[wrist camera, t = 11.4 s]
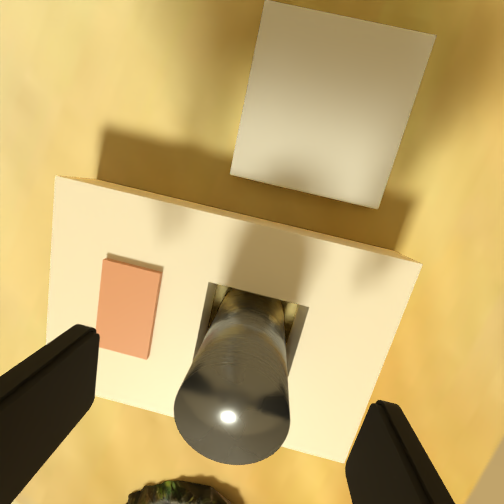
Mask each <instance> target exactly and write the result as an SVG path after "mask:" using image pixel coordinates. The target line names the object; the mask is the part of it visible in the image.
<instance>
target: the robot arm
mask: <svg viewBox="0 0 504 504" xmlns="http://www.w3.org/2000/svg"><path fill="white" fill-rule="evenodd" d="M99 342H100V335H99V334H98V333H96V329H95V328H93V327H89V326H85V325H81V324H76V325H74V326H72V327H71V328H69V329H68V330H67V331H65V332H64V333H62V334H61V335H59V336H58V337H57V338H55V339H54V340H52V341H51V342H49V343H48V344H46V345H45V346H44V347H42V348H41V349H39V350H38V351H36V352H35V353H34V354H32V355H31V356H29V357H28V358H26V359H25V360H23V361H22V362H21V363H19V364H18V365H16V366H15V367H13V368H12V369H10V370H9V371H8V372H6V373H5V374H3V375H2V376H0V504H11V503H12V502H13V500H14V499H15V498H16V497H17V496H18V494H19V493H20V492H21V491H22V490H23V488H24V487H25V486H26V485H27V484H28V482H29V481H30V480H31V479H32V477H33V476H34V475H35V474H36V473H37V471H38V470H39V469H40V468H41V467H42V465H43V464H44V463H45V462H46V461H47V459H48V458H49V457H50V456H51V455H52V453H53V452H54V451H55V450H56V449H57V447H58V446H59V445H60V444H61V443H62V441H63V440H64V439H65V438H66V437H67V435H68V434H69V433H70V432H71V430H72V429H73V428H74V427H75V426H76V424H77V423H78V422H79V421H80V420H81V418H82V417H83V416H84V415H85V414H86V412H87V411H88V410H89V409H90V407H91V405H92V403H93V401H94V398H95V388H96V376H97V365H98V353H99ZM345 472H346V478H347V483H348V487H349V491H350V495H351V499H352V503H353V504H455V503H454V501H453V499H452V498H451V496H450V494H449V492H448V490H447V489H446V487H445V485H444V483H443V482H442V480H441V478H440V476H439V475H438V473H437V471H436V469H435V468H434V466H433V464H432V462H431V461H430V459H429V457H428V455H427V454H426V452H425V450H424V448H423V447H422V445H421V443H420V441H419V440H418V438H417V436H416V434H415V432H414V431H413V429H412V427H411V425H410V424H409V422H408V420H407V418H406V417H405V415H404V413H403V411H402V410H401V408H400V407H399V405H397V404H394V403H390V402H386V401H382V400H378V401H377V402H376V403H372V404H371V405H370V407H369V410H368V412H367V415H366V417H365V419H364V422H363V424H362V426H361V429H360V431H359V434H358V436H357V438H356V441H355V443H354V445H353V448H352V450H351V452H350V455H349V457H348V460H347V462H346V467H345Z"/></svg>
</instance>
